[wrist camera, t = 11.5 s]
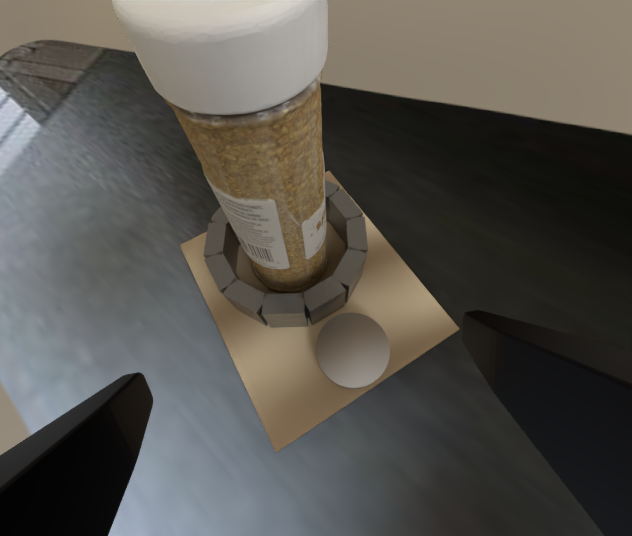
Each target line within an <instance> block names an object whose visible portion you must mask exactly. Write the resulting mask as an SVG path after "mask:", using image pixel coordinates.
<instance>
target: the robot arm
mask: <svg viewBox="0 0 632 536" xmlns="http://www.w3.org/2000/svg"><path fill="white" fill-rule="evenodd" d="M462 341H463V344H464V346H465V348H466V349H467V351H468V353H469V354H470V356H471V358H472V359H473V361H474V362H475V364H476V366H477V367H478V369H479V370H480V372H481V374H482V375H483V377H484V378H485V380H486V382H487V383H488V385H489V386H490V388H491V389H492V391H493V392H494V394H495V395H496V396H497V398H498V399H499V400H500V402H501V403H502V404H503V405H504V407H505V408H506V409H507V411H508V412H509V413H510V414H511V416H512V417H513V418H514V420H515V421H516V422H517V424H518V425H519V426H520V427H521V429H522V430H523V431H524V433H525V434H526V435H527V436H528V438H529V439H530V440H531V442H532V443H533V444H534V445H535V447H536V448H537V449H538V451H539V452H540V453H541V454H542V456H543V457H544V458H545V460H546V461H547V462H548V463H549V465H550V466H551V467H552V469H553V470H554V471H555V472H556V474H557V475H558V476H559V478H560V479H561V480H562V482H563V483H564V484H565V485H566V487H567V488H568V489H569V491H570V492H571V493H572V494H573V496H574V497H575V498H576V500H577V501H578V502H579V503H580V505H581V506H582V507H583V509H584V510H585V511H586V512H587V514H588V515H589V516H590V518H591V519H592V520H593V521H594V523H595V524H596V525H597V527H598V528H599V529H600V530H601V532H602V533H603V534H604V536H632V351H629V350H625V349H621V348H617V347H614V346H610V345H606V344H603V343H599V342H595V341H592V340H588V339H584V338H580V337H577V336H573V335H569V334H566V333H562V332H558V331H555V330H551V329H547V328H543V327H540V326H536V325H532V324H529V323H525V322H521V321H517V320H514V319H510V318H506V317H503V316H499V315H495V314H492V313H488V312H484V311H480V310H475V311H470V312H465V313H464V314H463V317H462ZM152 405H153V397H152V394H151V391H150V389H149V386H148V384H147V382H146V379H145V377H144V375H143V374H142V373H139V372H138V373H132V374H127V375H124V376H122V377H120V378H119V379H117V380H116V381H114V382H113V383H111V384H110V385H108V386H107V387H105V388H103V389H102V390H100V391H99V392H97V393H96V394H94V395H93V396H91V397H90V398H88V399H87V400H85V401H83V402H82V403H80V404H79V405H77V406H76V407H74V408H73V409H71V410H70V411H68V412H66V413H65V414H63V415H62V416H60V417H59V418H57V419H56V420H54V421H53V422H51V423H50V424H48V425H46V426H45V427H43V428H42V429H40V430H39V431H37V432H36V433H34V434H33V435H31V436H30V437H28V438H26V439H25V440H23V441H22V442H20V443H19V444H17V445H16V446H14V447H13V448H11V449H10V450H8V451H7V452H5V453H3V454H2V455H0V536H108V534H109V532H110V529H111V526H112V524H113V521H114V519H115V516H116V514H117V511H118V508H119V506H120V503H121V501H122V498H123V496H124V493H125V490H126V488H127V485H128V483H129V480H130V478H131V475H132V473H133V470H134V467H135V464H136V461H137V458H138V455H139V452H140V448H141V445H142V441H143V438H144V434H145V431H146V427H147V423H148V420H149V416H150V413H151V409H152Z"/></svg>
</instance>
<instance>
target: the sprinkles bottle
mask: <svg viewBox="0 0 632 536" xmlns="http://www.w3.org/2000/svg"><path fill="white" fill-rule="evenodd" d="M112 4H113V8H114V10H115V12H116V15H117V17H118V19H119V21H120V23H121V25H122V27H123V30H124V31H125V33H126V35H127V38H128V40H129V42H130V44H131V45H132V48H133V49H134V51H135V53H136V55H137V57H138V59H139V61H140V63H141V65H142V67H143V69H144V71H145V72H146V74H147V76H148V78H149V80H150V81H151V83H152V85H153V87H154V88H155V90H156V91H157V92H158V93H159V94H160V95H161V96H162V97H164V99H165V101H166V103H168V104H169V105H170V106H171V107H172V108H173V110H174V111H175V114H176V116H177V118H178V120H179V122H180V124H181V125H182V127H183V129H184V131H185V133H186V135H187V137H188V139H189V141H190V143H191V145H192V146H193V148H194V150H195V153H196V155H197V157H198V159H199V161H200V162H201V164H202V168H203V172H204V175H205V177H206V179H207V181H208V183H209V184H210V186H211V188H212V190H213V192H214V194H215V196H216V198H217V199H218V201H219V203H220V205H221V207H222V209H223V211H224V213H225V215H226V217H227V218H228V220H229V222H230V224H231V226H232V228H233V230H234V232H235V234H236V236H237V237H238V239H239V241H240V243H241V245H242V247H243V249H244V251H245V252H246V254H247V255H248V256H249V257H250V259H251V261H252V266H253V269H254V272H255V274H256V275H257V277H258V279H259V280H260V281H261V282H262V283H263V284H264V285H265V286H266V287H268V288H270V289H272V290H274V291H277V292H282V293H294V292H300V291H304V290H306V289H308V288H310V287H311V286H313V285H314V284H315V283H316V282H317V281H318V280H319V279H320V278H321V276H322V275H323V273H324V272H325V269H326V267H327V263H328V249H327V247H326V240H325V239H326V204H325V168H324V156H323V151H322V117H321V89H320V82H321V79H322V69H323V66H324V64H325V61H326V58H327V51H328V7H327V0H112Z"/></svg>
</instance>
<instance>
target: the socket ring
mask: <svg viewBox="0 0 632 536" xmlns="http://www.w3.org/2000/svg"><path fill="white" fill-rule="evenodd" d="M325 204H326V221H327V222H329V223H330V224H331V226H332V227H333V228H334V230H335V231H336V232H337V234H338V235H339V236H340V238H341V239H342V240H343V242H344V245H345V254H344V256H343V258H342V260H341V261H340V263H339V265H338V267H337V268H336V270H335V272H334V274H333V275H332V276H331V277H329V278H327V279H325V280H324V281H322V282H320V283H318V284H317V285H315V286H313V287H311V288H310V289H308V290H306V291H304V292H303V293H287V294H265V293H263V292H261V291H259V290H257V289H255V288H253V287H251V286H249V285H248V284H246V283H244V282H242V281H240V279H239V277H238V275H237V273H236V269H237V259H238V249H239V246H240V244H241V243H240V241H239V239H238V237H237V236H236V234H235V232H234V230H233V228H232V226H231V224H230V222H229V220H228V218H227V217H226V215H225V213H224V211H223V209H222V207H221V206H220V208H219V209H218V210H217V211H216V213H215V214H214V215H213V216H212V217H211V221H212V222H213V223H208V229H207V235H206V241H205V248H204V254H203V256H204V257H205V258H206V259H204V261H205V263H206V265H207V267H208V269H209V271H210V273H211V275H212V277H213V279H214V281H215V283H216V285H217V287H218V289H219V291H220V292H221V293H222V294H223V295H224V296H225V298H226V299H227V300H228V301H229V302H230V303H231V304H232V305H233V306H234V307H235V308H236V309H237V310H238V311H240V312H242V313H243V314H245V315H247V316H249V317H251V318H252V319H254V320H256V321H258V322H259V323H261V324H263V325H265V326H267V325H268V324H269V325H270V327H271V328H276V327H308V318H309V320H310V321H311V323H312V325H314V324H316V323H317V322H319V321H321V320H322V319H324V318H326V317H327V316H329V315H331V314H332V313H334V312H336V311H337V310H339V309H341V308H342V307H344V302H346V303H347V302H348V300H349V299H350V297H351V295H352V293H353V291H354V289H355V287H356V285H357V284H358V282H359V280H360V278H361V276H362V274H363V270H364V266H365V261H366V257H367V252H368V244H367V234H366V224H365V217H362V216H363V212H362V211H361V210H360V209H359V207H358V206H357V205H356V204H355V202H354V201H353V200H352V199H351V198H350V196H349V195H348V194H347V193H346V192H345V190H344V189H343V188H342V189H340V190H339V185H336V184H334V183H331V182H329V181H326V180H325Z"/></svg>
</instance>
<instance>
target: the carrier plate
mask: <svg viewBox="0 0 632 536" xmlns="http://www.w3.org/2000/svg"><path fill="white" fill-rule="evenodd" d="M325 180H326V181H329V182H331V183H334V184H336V185H339V190H340V189H342V188H343V187H342V186H341V185H340V183H339V182H338V181H337V180H336V179H335V177H334V176H333V175H332V174H331V172H330V171H327V172H325ZM343 189H344V188H343ZM344 190H345V189H344ZM345 192H346V191H345ZM346 193H347V192H346ZM347 194H348V193H347ZM348 195H349V194H348ZM350 198H351V197H350ZM351 199H352V198H351ZM352 200H353V199H352ZM353 201H354V200H353ZM355 204H356V203H355ZM356 205H357V204H356ZM357 206H358V205H357ZM358 207H359V206H358ZM359 209H360V208H359ZM360 210H361V209H360ZM361 211H362V210H361ZM362 212H363V211H362ZM362 217H365V224H366V234H367V244H368V252H367V257H366V261H365V266H364V270H363V274H362V276H361V278H360V280H359V282H358V284H357V285H356V287H355V289H354V291H353V293H352V295H351V297H350V299H349V300H348V302H347V303H346V302H344V307H342V308H341V309H339V310H337V311H336V312H334V313H332V314H331V315H329V316H327V317H326V318H324V319H322V320H321V321H319V322H317V323H316V324H314V325H312V323H311V321H310V320H309V318H308V327H276V328H271V327H270V325H269V324H268V325H267V326H265V325H263V324H261V323H259V322H258V321H256V320H254V319H252V318H251V317H249V316H247V315H245V314H243V313H242V312H240V311H238V310H237V309H236V308H235V307H234V306H233V305H232V304H231V303H230V302H229V301H228V300H227V299H226V298H225V296H224V295H223V294H222V293H221V292H220V291H219V289H218V287H217V285H216V283H215V281H214V279H213V277H212V275H211V273H210V271H209V269H208V267H207V265H206V263H205V261H204V259H206V258H205V257H204V256H203V254H204V248H205V241H206V235H207V232H205V233H203V234H201V235H199V236H197V237H195V238H193V239H191V240H189V241H187V242H184V243H182V244H180V247H181V249H182V251H183V254H184V256H185V258H186V260H187V262H188V264H189V267H190V269H191V271H192V273H193V275H194V277H195V279H196V282H197V284H198V286H199V288H200V290H201V292H202V295H203V297H204V299H205V301H206V303H207V305H208V307H209V310H210V312H211V314H212V316H213V318H214V320H215V323H216V325H217V327H218V329H219V331H220V333H221V336H222V338H223V340H224V342H225V344H226V346H227V348H228V351H229V353H230V355H231V357H232V359H233V361H234V364H235V366H236V368H237V370H238V372H239V374H240V376H241V379H242V381H243V383H244V385H245V387H246V389H247V392H248V394H249V396H250V398H251V400H252V402H253V404H254V407H255V409H256V411H257V413H258V415H259V417H260V420H261V422H262V424H263V426H264V428H265V430H266V433H267V435H268V437H269V439H270V441H271V443H272V445H273V448H274V450H275V452H276V453H277V452H278V451H280V450H281V449H282V448H284V447H285V446H287V445H288V444H290V443H291V442H293V441H294V440H296V439H297V438H299V437H300V436H302V435H303V434H305V433H306V432H308V431H309V430H311V429H312V428H314V427H315V426H317V425H318V424H320V423H321V422H323V421H324V420H326V419H327V418H329V417H330V416H331V415H333V414H334V413H336V412H337V411H339V410H340V409H342V408H343V407H345V406H346V405H348V404H349V403H351V402H352V401H354V400H355V399H357V398H358V397H360V396H361V395H363V394H364V393H366V392H367V391H369V390H370V389H372V388H373V387H375V386H376V385H378V384H379V383H380V382H382V381H383V380H385V379H386V378H388V377H389V376H391V375H392V374H394V373H395V372H397V371H398V370H400V369H401V368H403V367H404V366H406V365H407V364H409V363H410V362H412V361H413V360H415V359H416V358H418V357H419V356H421V355H422V354H424V353H425V352H427V351H428V350H429V349H431V348H432V347H434V346H435V345H437V344H438V343H440V342H441V341H443V340H444V339H446V338H447V337H449V336H450V335H452V334H453V333H455V332H456V331H458V330H459V328H458V327H457V325H456V324H455V323H454V322H453V320H452V319H451V318H450V317H449V316H448V314H447V313H446V312H445V311H444V310H443V308H442V307H441V306H440V305H439V303H438V302H437V301H436V300H435V299H434V297H433V296H432V295H431V294H430V293H429V291H428V290H427V289H426V288H425V287H424V285H423V284H422V283H421V282H420V280H419V279H418V278H417V277H416V276H415V274H414V273H413V272H412V271H411V270H410V268H409V267H408V266H407V265H406V263H405V262H404V261H403V260H402V259H401V257H400V256H399V255H398V254H397V253H396V251H395V250H394V249H393V248H392V246H391V245H390V244H389V243H388V242H387V240H386V239H385V238H384V237H383V236H382V234H381V233H380V232H379V231H378V230H377V228H376V227H375V226H374V225H373V223H372V222H371V221H370V220H369V219H368V217H367V216H366V215H365V214H364V213H363V216H362ZM325 240H326V247H327V249H328V263H327V267H326V269H325V272H324V273H323V275H322V276H321V278H320V279H319V280H318V281H317V282H316V283H315V284H314V285H313V286H315V285H317V284H318V283H320V282H322V281H324V280H325V279H327V278H329V277H331V276H332V275H333V274H334V272H335V270H336V268H337V267H338V265H339V263H340V261H341V260H342V258H343V256H344V254H345V245H344V242H343V240H342V239H341V238H340V236H339V235H338V234H337V232H336V231H335V230H334V228H333V227H332V226H331V224H330V223H329V222H327V221H326V239H325ZM236 273H237V275H238V277H239V279H240V281H242V282H244V283H246V284H248V285H249V286H251V287H253V288H255V289H257V290H259V291H261V292H263V293H265V294H287V293H282V292H277V291H274V290H272V289H270V288H268V287H266V286H265V285H264V284H263V283H262V282H261V281H260V280H259V279H258V277H257V275H256V274H255V272H254V269H253V266H252V261H251V259H250V257H249V256H248V255H247V254H246V252H245V251H244V249H243V247H242V245H241V244H240V246H239V249H238V259H237V269H236ZM313 286H311V287H313ZM311 287H310V288H311ZM310 288H308V289H310ZM308 289H306V290H308ZM306 290H304V291H306ZM304 291H300V292H294V293H303V292H304Z"/></svg>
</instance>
